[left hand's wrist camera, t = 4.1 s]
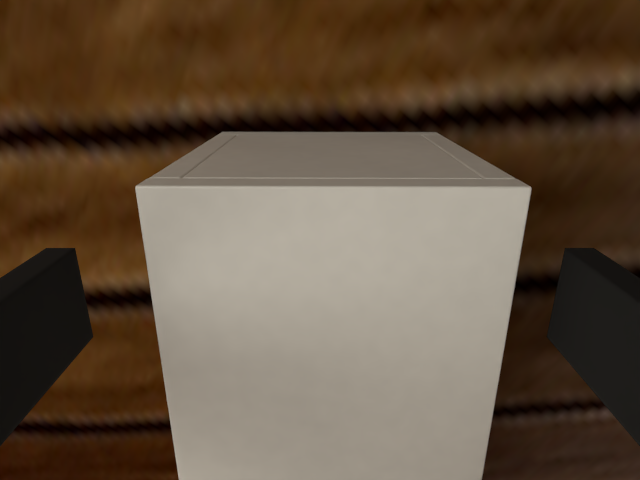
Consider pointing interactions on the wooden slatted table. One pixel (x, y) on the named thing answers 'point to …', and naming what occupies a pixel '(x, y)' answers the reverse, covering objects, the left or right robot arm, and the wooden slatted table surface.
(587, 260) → the left robot arm
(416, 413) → the cabinet
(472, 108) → the wooden slatted table surface
